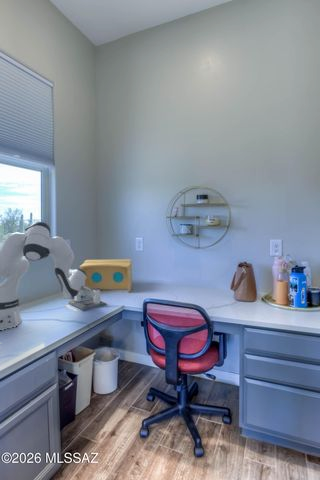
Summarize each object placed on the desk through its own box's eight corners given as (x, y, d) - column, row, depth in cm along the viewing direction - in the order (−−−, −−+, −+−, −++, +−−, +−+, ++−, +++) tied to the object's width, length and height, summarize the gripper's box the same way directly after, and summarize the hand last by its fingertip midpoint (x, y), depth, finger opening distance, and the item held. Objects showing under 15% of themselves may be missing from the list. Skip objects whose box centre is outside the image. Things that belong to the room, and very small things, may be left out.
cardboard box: (131, 285, 249) (131, 259, 247) (129, 293, 223) (129, 264, 221) (87, 286, 247) (86, 259, 245) (80, 294, 221) (79, 264, 219)
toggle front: (96, 304, 189) (95, 288, 188) (93, 302, 192) (92, 287, 191) (100, 303, 191) (100, 287, 190) (97, 301, 194) (96, 286, 193)
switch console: (76, 312, 177) (76, 308, 177) (62, 305, 193) (62, 301, 193) (106, 305, 192) (106, 301, 192) (91, 298, 208) (91, 295, 208)
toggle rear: (76, 302, 194) (76, 287, 193) (74, 300, 197) (73, 286, 196) (81, 301, 196) (80, 286, 195) (78, 299, 199) (77, 285, 198)
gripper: (88, 284, 175) (102, 296, 183) (74, 279, 190) (87, 290, 198) (82, 292, 173) (96, 303, 180) (68, 286, 187) (81, 297, 195)
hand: (91, 296), depth 189 cm, fingers closed
